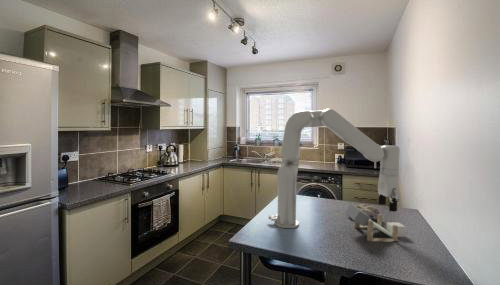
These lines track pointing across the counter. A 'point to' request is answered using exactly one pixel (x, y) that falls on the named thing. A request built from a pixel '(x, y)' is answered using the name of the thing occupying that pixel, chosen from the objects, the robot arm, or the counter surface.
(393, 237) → the frame
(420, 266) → the counter surface
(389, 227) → the cube
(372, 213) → the geode
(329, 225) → the counter surface
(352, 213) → the trapdoor
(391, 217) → the counter surface
